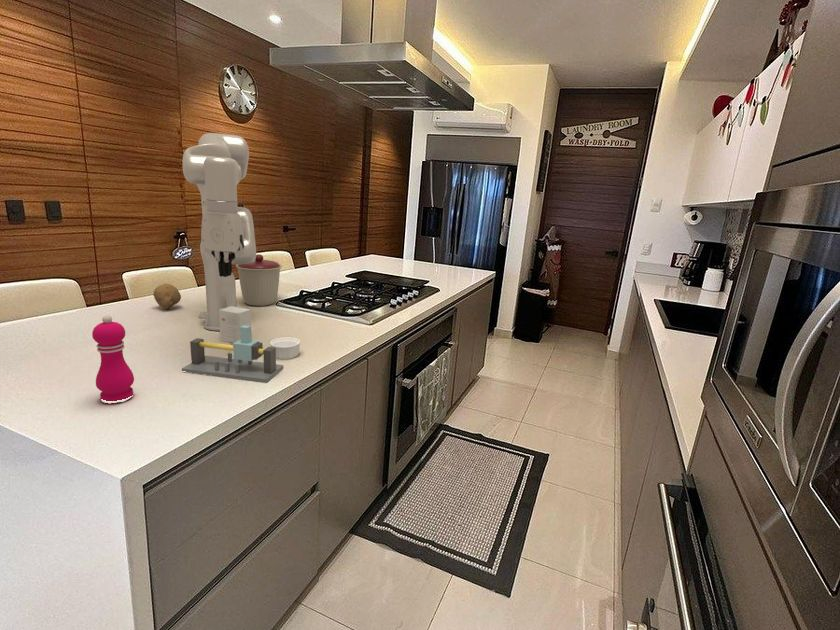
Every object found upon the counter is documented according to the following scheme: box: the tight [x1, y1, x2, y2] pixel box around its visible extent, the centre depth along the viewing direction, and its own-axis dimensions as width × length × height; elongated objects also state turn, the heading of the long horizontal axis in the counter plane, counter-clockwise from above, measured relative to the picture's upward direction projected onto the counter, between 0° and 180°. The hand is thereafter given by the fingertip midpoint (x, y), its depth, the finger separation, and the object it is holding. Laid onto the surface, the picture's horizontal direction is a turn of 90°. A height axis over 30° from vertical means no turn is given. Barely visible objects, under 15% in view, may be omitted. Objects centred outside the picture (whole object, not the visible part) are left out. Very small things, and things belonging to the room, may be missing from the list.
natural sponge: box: [153, 283, 182, 310], centre depth 169 cm, size 9×9×10 cm
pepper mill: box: [91, 315, 135, 401], centre depth 98 cm, size 7×7×20 cm
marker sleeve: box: [232, 325, 260, 361], centre depth 117 cm, size 5×4×9 cm
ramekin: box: [269, 336, 301, 360], centre depth 133 cm, size 9×9×4 cm
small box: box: [219, 306, 253, 344], centre depth 141 cm, size 8×6×10 cm
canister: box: [235, 253, 282, 307], centre depth 184 cm, size 18×18×21 cm
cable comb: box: [181, 337, 284, 384], centre depth 119 cm, size 24×10×8 cm, turn 82°
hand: (225, 275), depth 120 cm, fingers closed
